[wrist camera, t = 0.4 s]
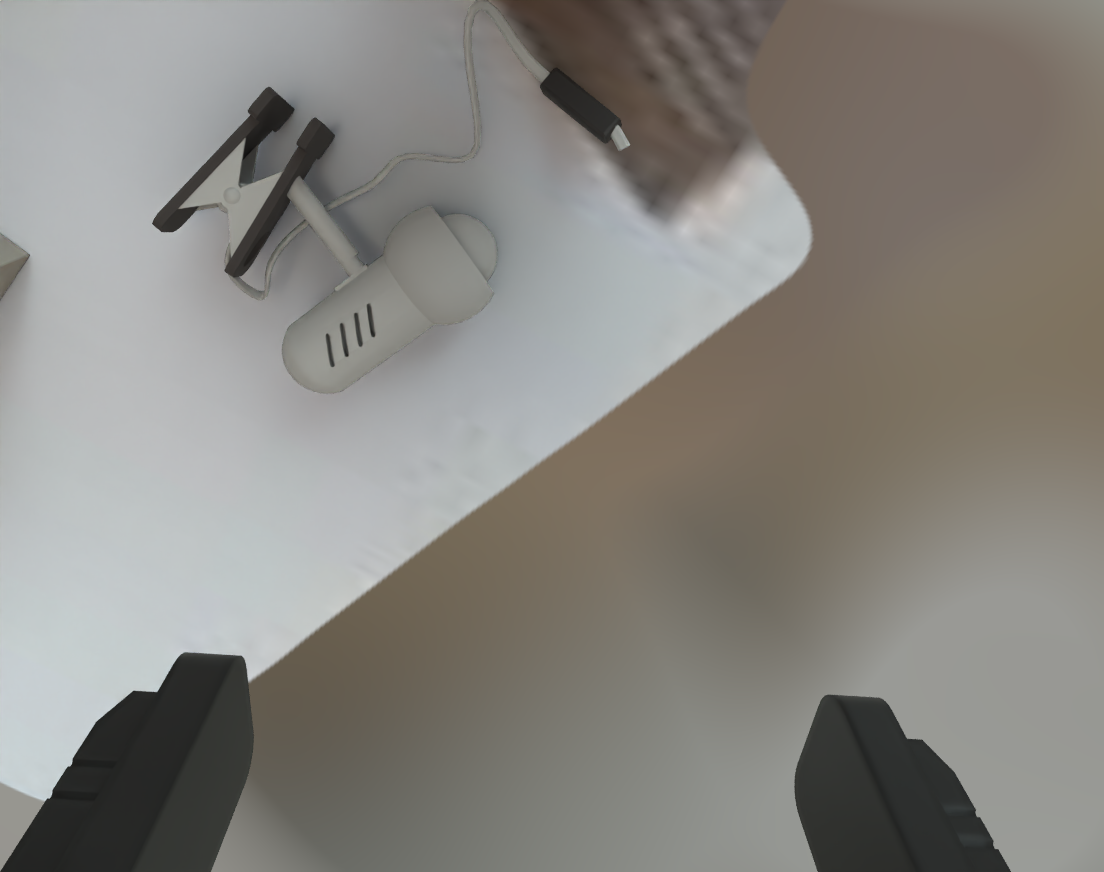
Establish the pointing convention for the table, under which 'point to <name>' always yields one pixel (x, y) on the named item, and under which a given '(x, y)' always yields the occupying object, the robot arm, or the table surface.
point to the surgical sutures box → (9, 263)
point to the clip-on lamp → (371, 290)
